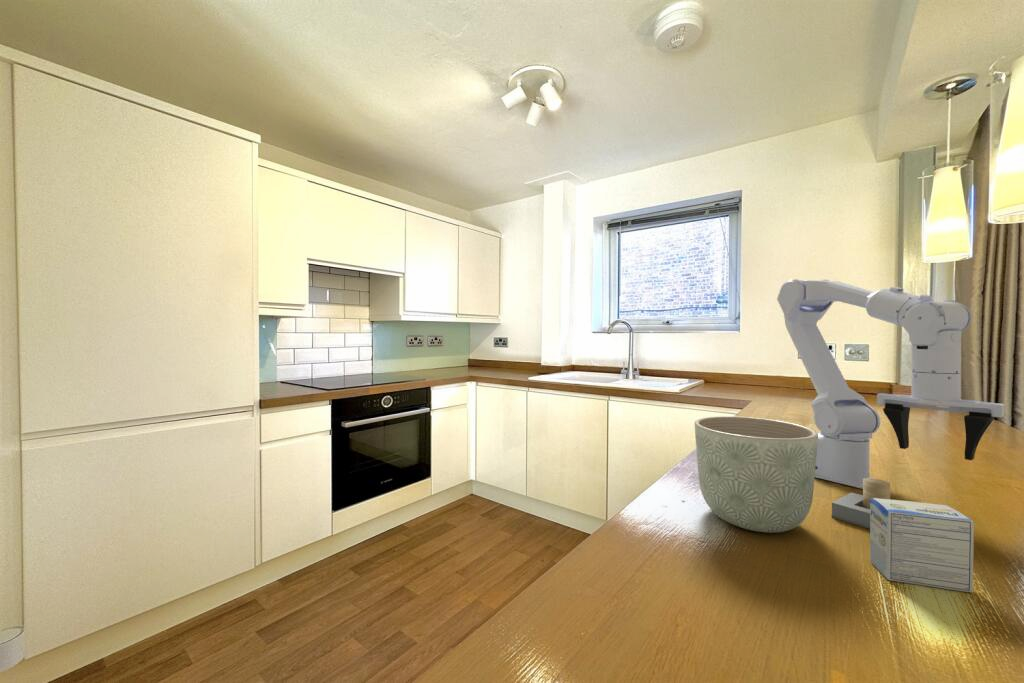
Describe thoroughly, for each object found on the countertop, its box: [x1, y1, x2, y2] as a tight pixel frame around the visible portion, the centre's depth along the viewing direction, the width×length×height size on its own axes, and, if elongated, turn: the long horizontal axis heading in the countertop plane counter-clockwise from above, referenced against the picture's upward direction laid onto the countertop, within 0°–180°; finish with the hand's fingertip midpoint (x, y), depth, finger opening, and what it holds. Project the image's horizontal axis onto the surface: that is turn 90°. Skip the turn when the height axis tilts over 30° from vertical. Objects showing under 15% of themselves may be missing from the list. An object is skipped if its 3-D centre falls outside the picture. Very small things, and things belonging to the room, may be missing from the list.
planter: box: [694, 415, 819, 534], centre depth 64 cm, size 17×17×15 cm
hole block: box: [831, 492, 870, 530], centre depth 64 cm, size 9×8×2 cm
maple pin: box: [862, 477, 891, 509], centre depth 64 cm, size 3×3×6 cm
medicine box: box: [869, 498, 975, 593], centre depth 49 cm, size 8×4×9 cm, turn 71°
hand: (935, 453), depth 67 cm, fingers open, 7 cm apart
